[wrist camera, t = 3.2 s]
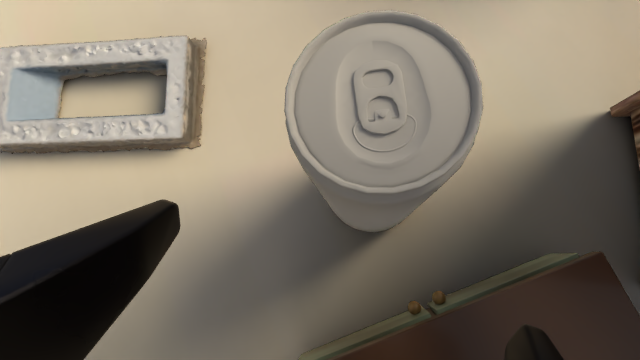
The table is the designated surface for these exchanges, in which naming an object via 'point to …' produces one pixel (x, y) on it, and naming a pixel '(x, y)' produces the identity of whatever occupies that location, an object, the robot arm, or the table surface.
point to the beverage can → (382, 114)
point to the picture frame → (91, 60)
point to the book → (635, 107)
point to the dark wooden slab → (508, 317)
